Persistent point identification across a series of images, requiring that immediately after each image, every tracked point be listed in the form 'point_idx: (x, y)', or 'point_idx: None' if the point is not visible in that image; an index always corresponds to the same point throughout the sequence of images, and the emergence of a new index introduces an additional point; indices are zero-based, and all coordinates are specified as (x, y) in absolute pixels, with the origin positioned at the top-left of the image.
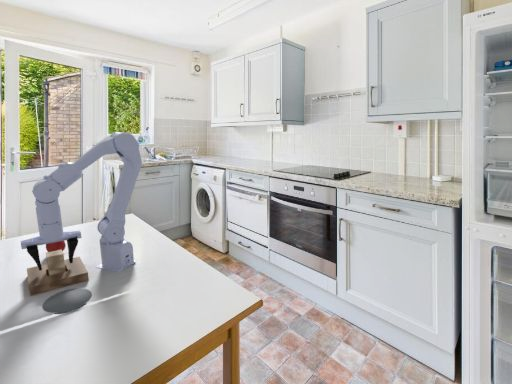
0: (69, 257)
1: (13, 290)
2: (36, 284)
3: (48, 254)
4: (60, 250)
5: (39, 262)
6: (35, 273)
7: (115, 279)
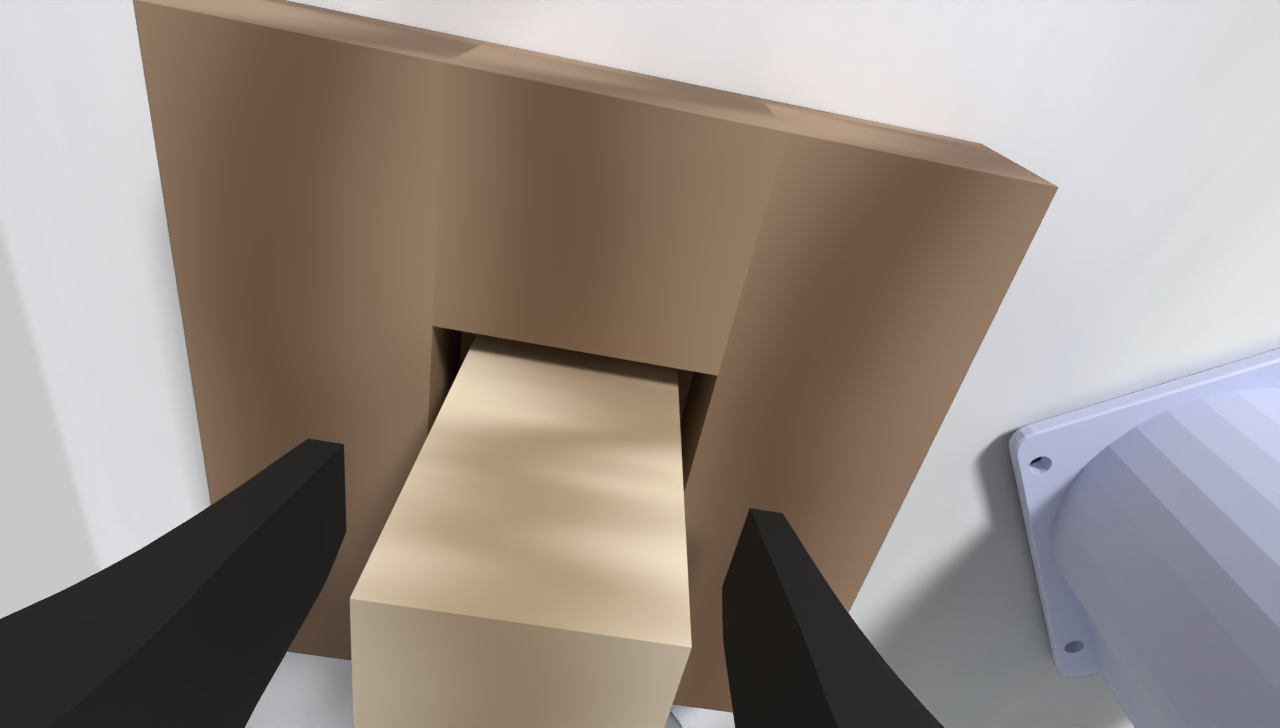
0: (741, 650)
1: (105, 282)
2: (301, 633)
3: (394, 709)
4: (650, 679)
5: (260, 675)
6: (290, 355)
7: (941, 722)
